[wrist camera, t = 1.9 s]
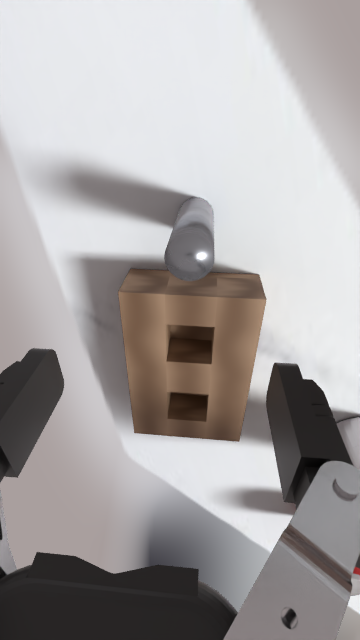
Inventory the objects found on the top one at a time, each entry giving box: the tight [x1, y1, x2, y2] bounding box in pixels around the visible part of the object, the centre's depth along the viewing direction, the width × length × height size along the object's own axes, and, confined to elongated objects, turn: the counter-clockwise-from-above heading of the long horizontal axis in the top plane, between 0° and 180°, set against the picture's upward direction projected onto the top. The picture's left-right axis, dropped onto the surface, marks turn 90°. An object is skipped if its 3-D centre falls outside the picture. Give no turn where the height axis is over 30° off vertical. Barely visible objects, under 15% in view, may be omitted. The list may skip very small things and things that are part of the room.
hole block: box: [118, 269, 266, 442], centre depth 35 cm, size 13×20×5 cm, turn 0°
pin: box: [165, 198, 214, 281], centre depth 24 cm, size 3×3×10 cm
